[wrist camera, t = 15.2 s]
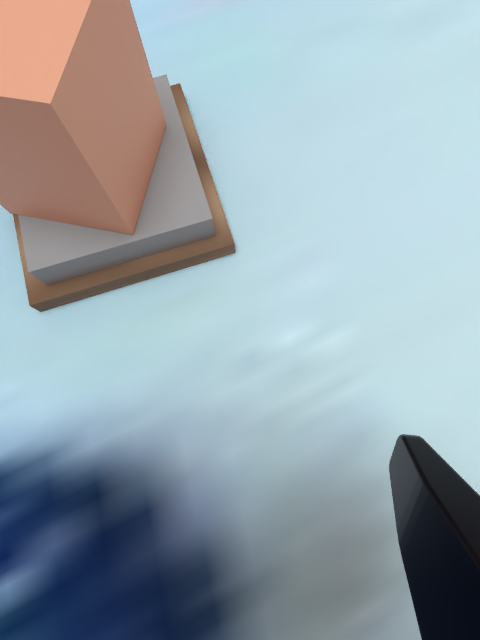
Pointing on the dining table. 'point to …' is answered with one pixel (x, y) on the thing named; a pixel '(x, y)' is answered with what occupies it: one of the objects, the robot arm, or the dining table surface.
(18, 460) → the dining table surface
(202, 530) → the dining table surface
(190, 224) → the grey square slab
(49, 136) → the terracotta block
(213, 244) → the tower base block
